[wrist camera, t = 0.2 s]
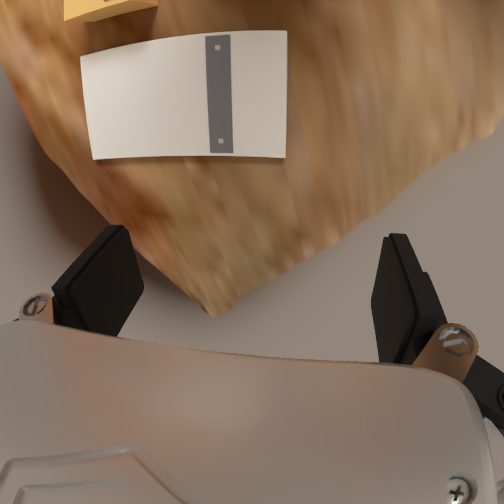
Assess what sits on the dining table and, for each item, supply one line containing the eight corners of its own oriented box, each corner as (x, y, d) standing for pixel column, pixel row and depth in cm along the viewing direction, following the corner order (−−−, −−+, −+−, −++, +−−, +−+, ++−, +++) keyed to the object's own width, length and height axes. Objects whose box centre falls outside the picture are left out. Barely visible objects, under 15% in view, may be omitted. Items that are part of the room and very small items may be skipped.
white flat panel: (85, 56, 35) (79, 56, 34) (287, 31, 31) (286, 30, 30) (97, 157, 44) (92, 159, 42) (285, 155, 40) (285, 158, 39)
